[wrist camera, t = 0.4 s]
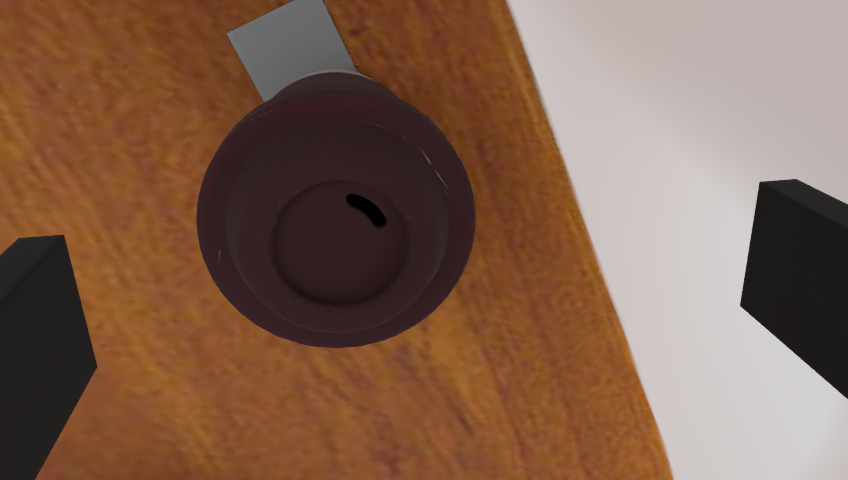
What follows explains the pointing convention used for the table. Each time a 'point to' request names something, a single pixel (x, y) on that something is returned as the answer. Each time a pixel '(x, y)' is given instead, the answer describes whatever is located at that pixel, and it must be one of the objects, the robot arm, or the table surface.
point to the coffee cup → (335, 213)
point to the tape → (289, 45)
